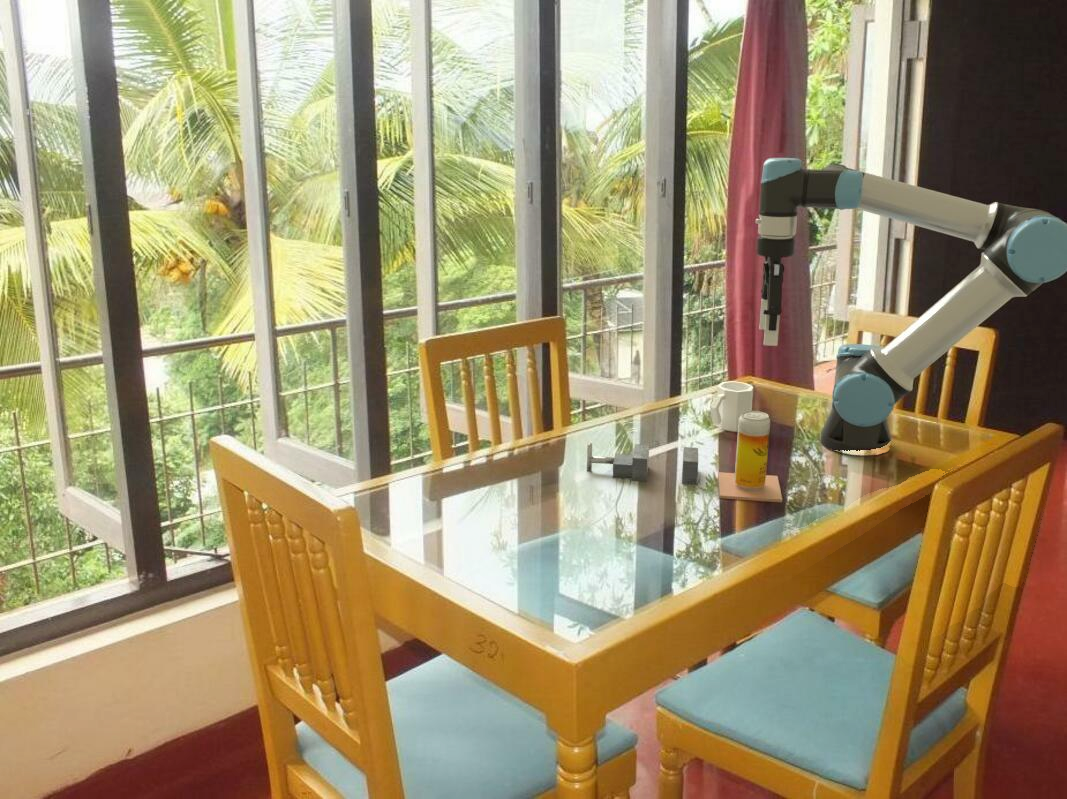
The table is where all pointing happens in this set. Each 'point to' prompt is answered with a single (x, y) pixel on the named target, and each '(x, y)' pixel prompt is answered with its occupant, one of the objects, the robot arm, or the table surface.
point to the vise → (644, 464)
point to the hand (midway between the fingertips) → (767, 337)
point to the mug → (731, 404)
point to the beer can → (752, 450)
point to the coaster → (732, 491)
